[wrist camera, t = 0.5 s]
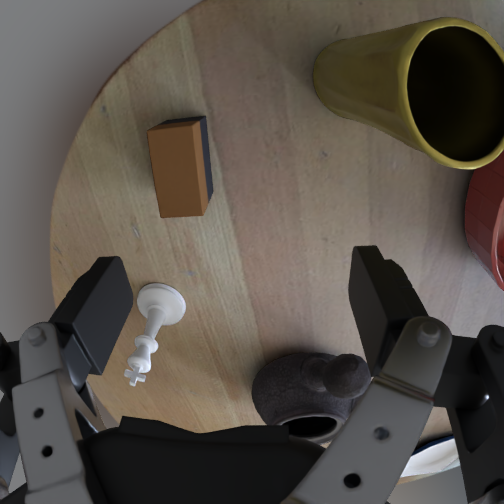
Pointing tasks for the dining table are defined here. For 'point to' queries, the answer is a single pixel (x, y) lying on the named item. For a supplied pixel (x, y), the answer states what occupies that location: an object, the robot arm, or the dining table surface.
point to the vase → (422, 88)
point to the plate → (432, 457)
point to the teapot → (310, 393)
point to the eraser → (181, 166)
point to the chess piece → (153, 324)
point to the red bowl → (487, 218)
